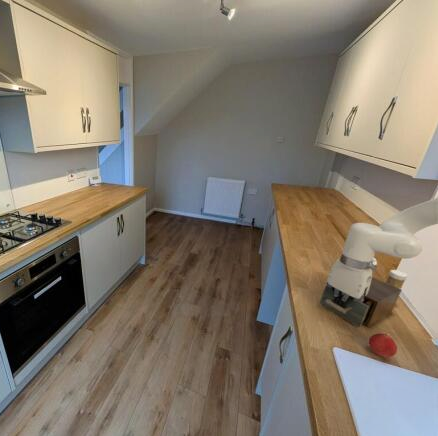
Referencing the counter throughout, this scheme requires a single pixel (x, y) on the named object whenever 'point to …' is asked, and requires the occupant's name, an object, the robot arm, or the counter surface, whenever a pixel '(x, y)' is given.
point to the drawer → (347, 307)
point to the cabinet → (380, 300)
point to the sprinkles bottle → (396, 278)
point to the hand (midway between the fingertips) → (338, 307)
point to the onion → (383, 345)
